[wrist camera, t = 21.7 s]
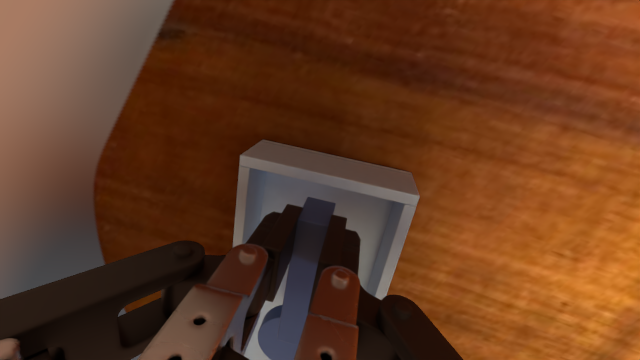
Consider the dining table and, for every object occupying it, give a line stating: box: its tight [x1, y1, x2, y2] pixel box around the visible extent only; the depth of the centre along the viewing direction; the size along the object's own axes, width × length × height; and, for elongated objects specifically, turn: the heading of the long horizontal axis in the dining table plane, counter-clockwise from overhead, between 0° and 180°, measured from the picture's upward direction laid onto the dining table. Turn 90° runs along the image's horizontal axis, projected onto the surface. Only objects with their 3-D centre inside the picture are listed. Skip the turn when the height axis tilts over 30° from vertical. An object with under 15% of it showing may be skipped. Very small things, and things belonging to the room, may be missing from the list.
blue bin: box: [233, 139, 420, 360], centre depth 21 cm, size 25×9×4 cm, turn 170°
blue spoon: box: [258, 197, 336, 360], centre depth 15 cm, size 11×4×2 cm, turn 170°
